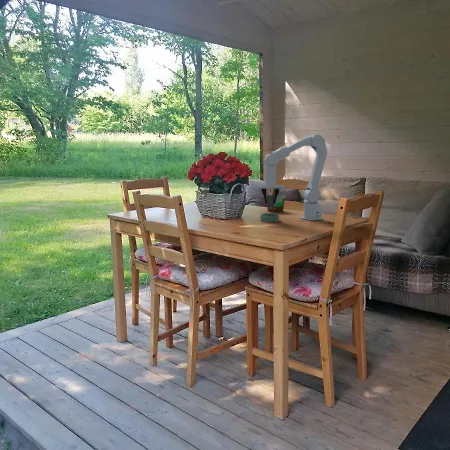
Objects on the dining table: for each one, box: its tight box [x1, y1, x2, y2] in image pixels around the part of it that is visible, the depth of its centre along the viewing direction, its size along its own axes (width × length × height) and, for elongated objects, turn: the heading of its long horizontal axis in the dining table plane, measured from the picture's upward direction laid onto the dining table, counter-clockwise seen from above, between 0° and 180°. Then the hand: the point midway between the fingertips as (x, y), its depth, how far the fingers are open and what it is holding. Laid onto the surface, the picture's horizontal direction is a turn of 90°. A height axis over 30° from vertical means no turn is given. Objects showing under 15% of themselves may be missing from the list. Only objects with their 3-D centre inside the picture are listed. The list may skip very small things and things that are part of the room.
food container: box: [266, 193, 287, 213], centre depth 272 cm, size 12×6×10 cm, turn 73°
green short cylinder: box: [259, 212, 280, 223], centre depth 245 cm, size 10×10×3 cm
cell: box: [266, 194, 275, 208], centre depth 244 cm, size 4×4×6 cm
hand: (270, 203), depth 244 cm, fingers closed on cell, 4 cm apart
